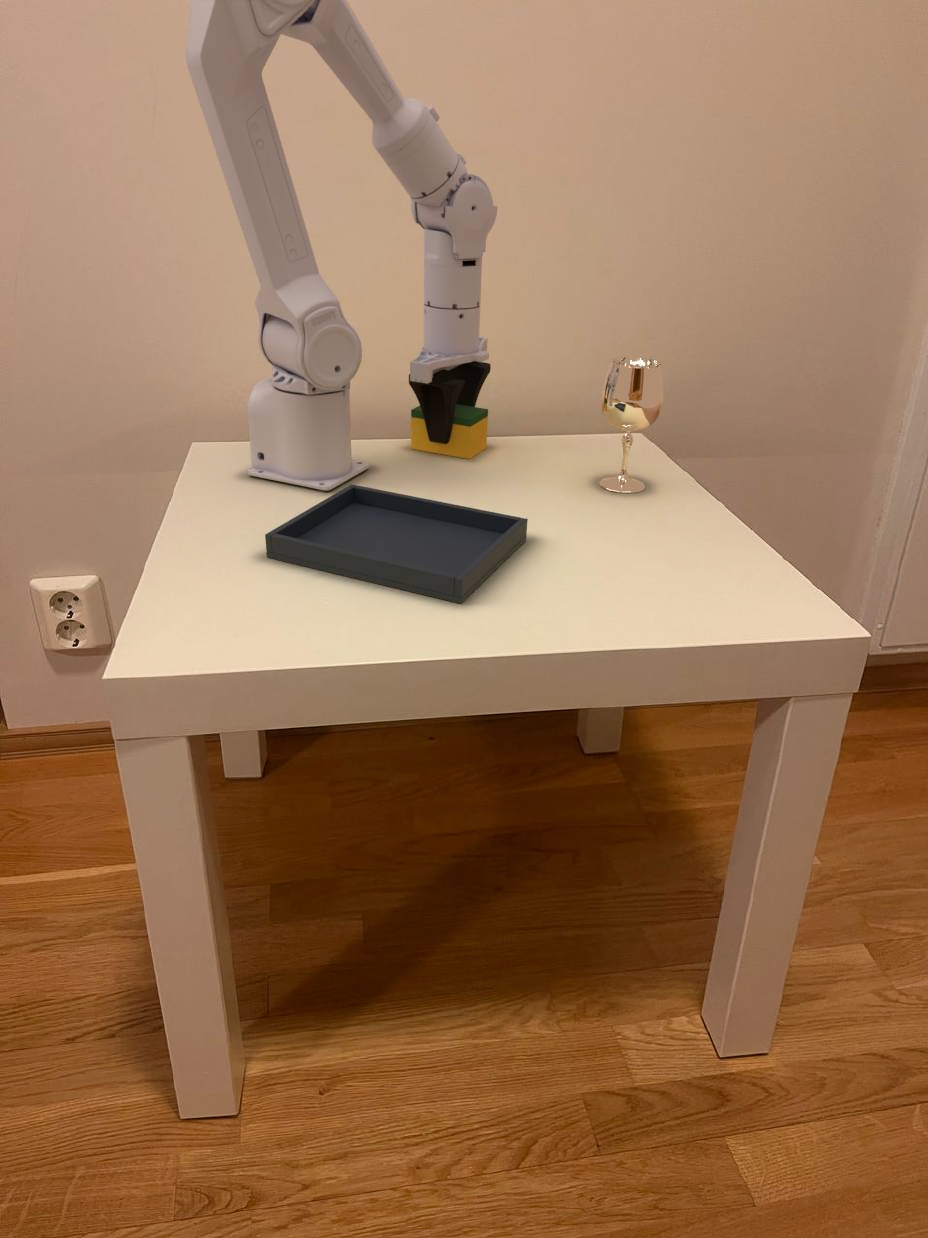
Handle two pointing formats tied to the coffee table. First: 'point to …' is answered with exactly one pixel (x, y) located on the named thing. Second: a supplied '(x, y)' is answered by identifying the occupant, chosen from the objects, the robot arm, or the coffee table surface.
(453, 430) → the sponge
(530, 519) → the coffee table surface
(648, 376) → the wineglass
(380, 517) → the tray
